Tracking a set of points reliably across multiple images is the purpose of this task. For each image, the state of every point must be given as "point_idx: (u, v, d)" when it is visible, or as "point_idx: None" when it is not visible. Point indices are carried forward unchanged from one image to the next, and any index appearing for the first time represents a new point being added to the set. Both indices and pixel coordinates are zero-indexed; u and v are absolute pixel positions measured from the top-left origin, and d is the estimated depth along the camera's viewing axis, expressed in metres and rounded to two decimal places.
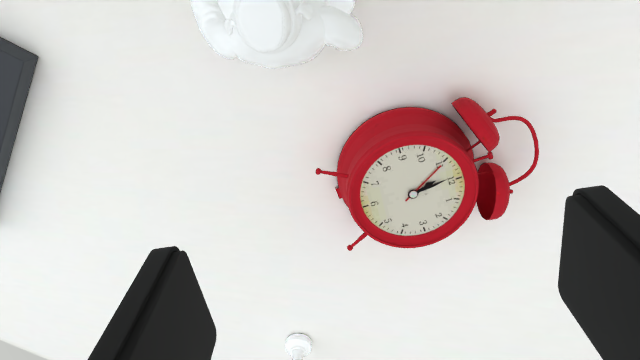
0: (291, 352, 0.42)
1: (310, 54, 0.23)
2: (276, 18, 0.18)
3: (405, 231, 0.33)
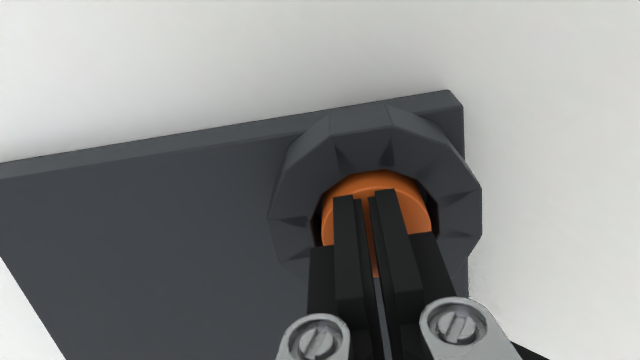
0: None
1: None
2: None
3: None
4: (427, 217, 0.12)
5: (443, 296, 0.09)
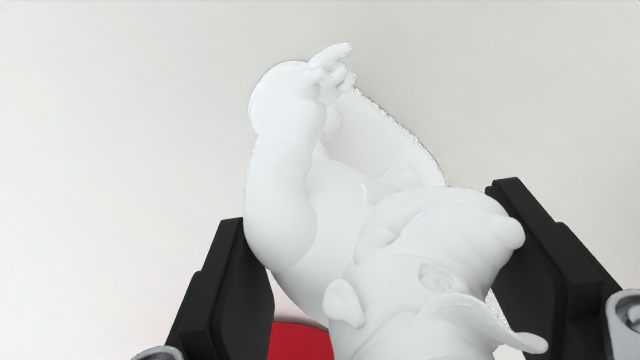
0: None
1: None
2: None
3: None
4: None
5: (606, 289, 0.08)
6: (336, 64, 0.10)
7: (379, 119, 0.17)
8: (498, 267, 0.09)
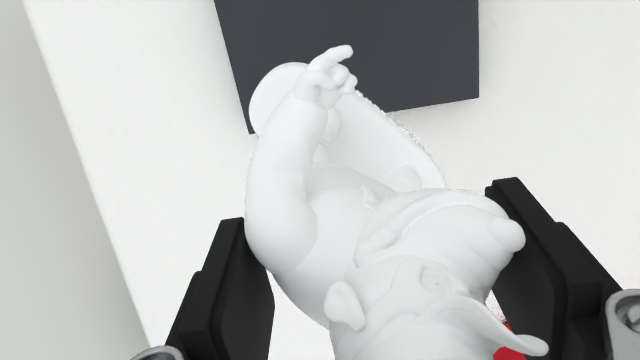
0: None
1: None
2: None
3: None
4: None
5: (606, 289, 0.08)
6: (338, 66, 0.10)
7: (380, 120, 0.17)
8: (499, 269, 0.09)
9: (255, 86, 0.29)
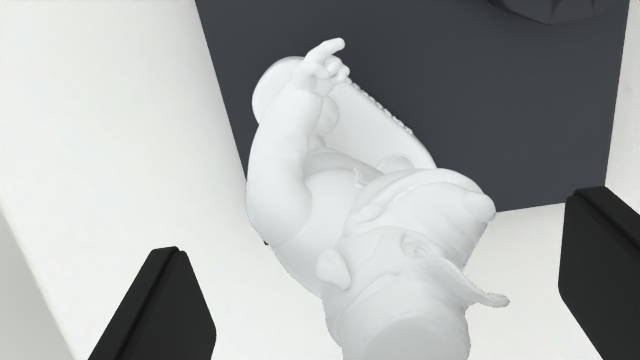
0: None
1: None
2: None
3: None
4: None
5: None
6: (331, 57, 0.11)
7: (375, 111, 0.18)
8: (473, 239, 0.10)
9: None
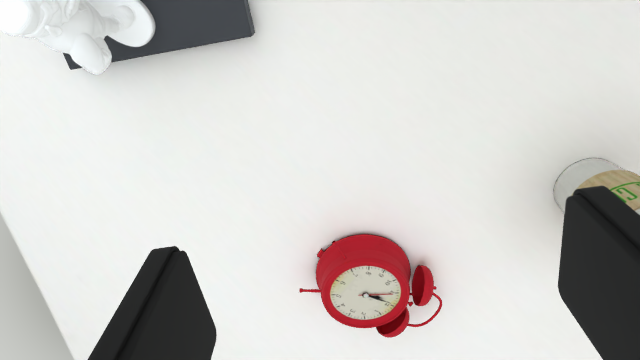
0: None
1: (56, 50, 0.29)
2: (20, 20, 0.24)
3: (340, 308, 0.47)
4: None
5: None
6: None
7: None
8: None
9: None
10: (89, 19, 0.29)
